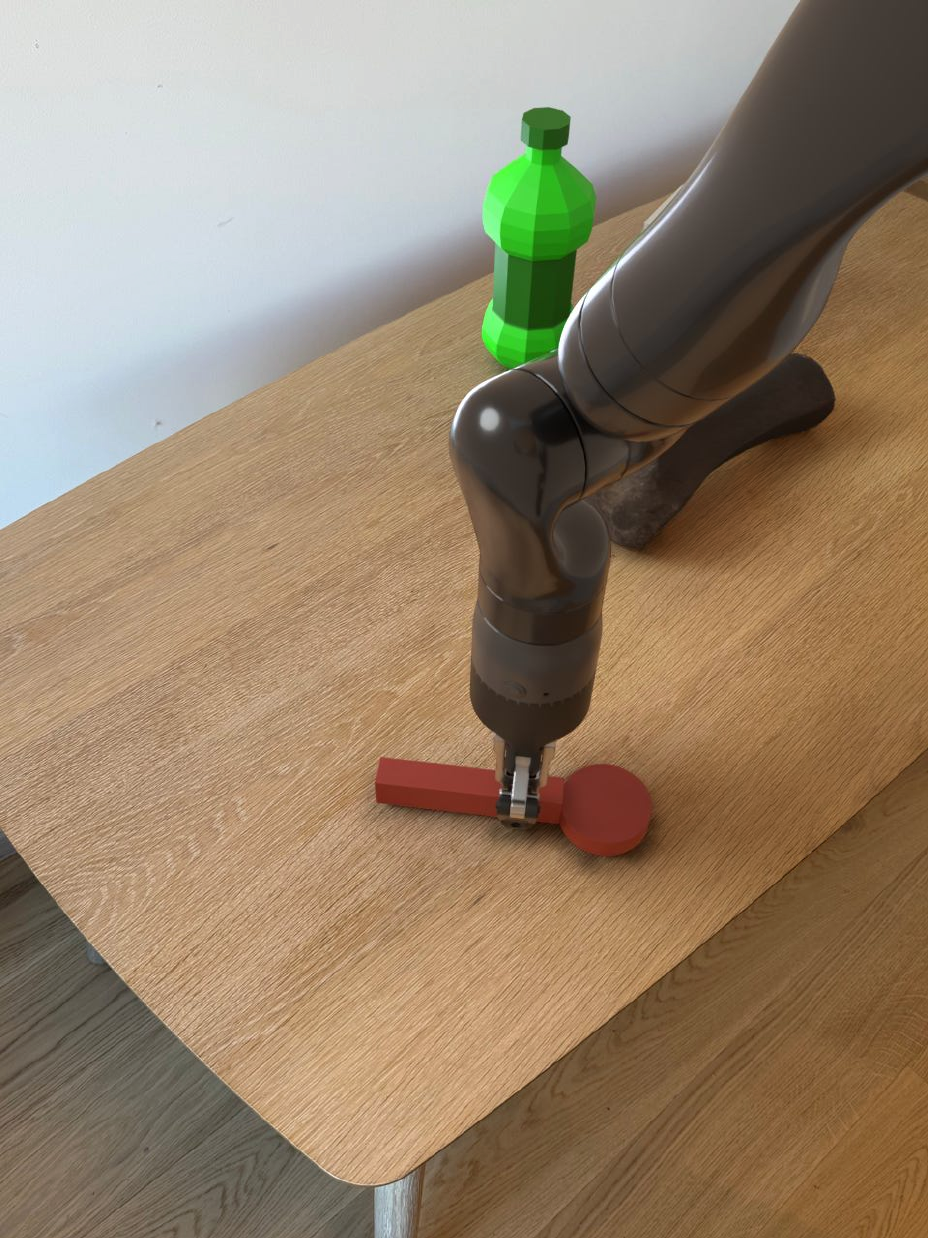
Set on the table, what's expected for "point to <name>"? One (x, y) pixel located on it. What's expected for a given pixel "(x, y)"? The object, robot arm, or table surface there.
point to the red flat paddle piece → (583, 806)
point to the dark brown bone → (715, 448)
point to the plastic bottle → (535, 241)
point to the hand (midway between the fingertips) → (518, 805)
